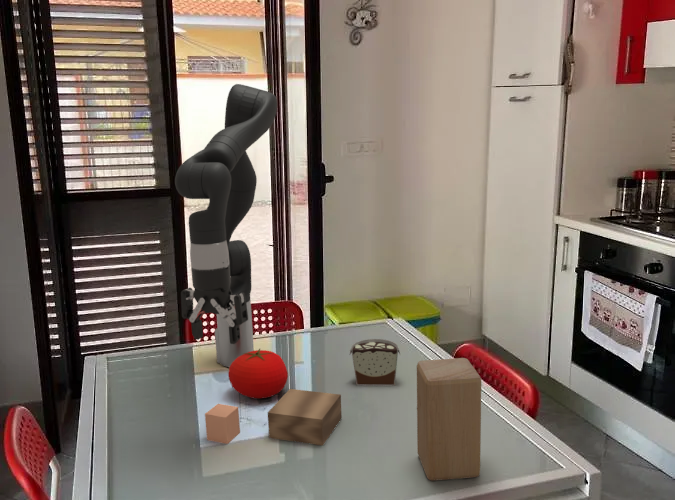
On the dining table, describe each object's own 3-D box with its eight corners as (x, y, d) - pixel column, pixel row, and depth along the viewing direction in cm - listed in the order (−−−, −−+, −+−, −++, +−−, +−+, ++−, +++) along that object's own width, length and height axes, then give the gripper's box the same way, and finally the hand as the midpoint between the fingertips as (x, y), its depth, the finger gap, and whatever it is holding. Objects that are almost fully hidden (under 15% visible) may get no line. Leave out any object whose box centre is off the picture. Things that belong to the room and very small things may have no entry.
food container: (401, 375, 167) (400, 338, 164) (400, 385, 161) (400, 347, 158) (352, 375, 168) (351, 338, 166) (350, 385, 162) (349, 346, 160)
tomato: (298, 387, 162) (296, 347, 159) (272, 409, 150) (269, 367, 148) (249, 379, 168) (246, 340, 165) (220, 400, 156) (216, 358, 154)
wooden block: (416, 454, 129) (415, 358, 125) (466, 451, 130) (467, 355, 125) (427, 483, 119) (427, 380, 115) (481, 479, 120) (483, 376, 116)
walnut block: (269, 439, 138) (267, 412, 137) (291, 413, 149) (289, 388, 148) (323, 446, 134) (321, 419, 133) (341, 419, 145) (340, 394, 144)
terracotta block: (207, 440, 138) (204, 413, 136) (220, 429, 142) (218, 403, 141) (227, 444, 136) (225, 417, 135) (240, 433, 140) (238, 407, 139)
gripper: (169, 265, 130) (176, 343, 134) (231, 270, 125) (237, 350, 128) (191, 257, 137) (197, 331, 140) (251, 261, 132) (256, 338, 135)
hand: (216, 340), depth 134 cm, fingers open, 8 cm apart
